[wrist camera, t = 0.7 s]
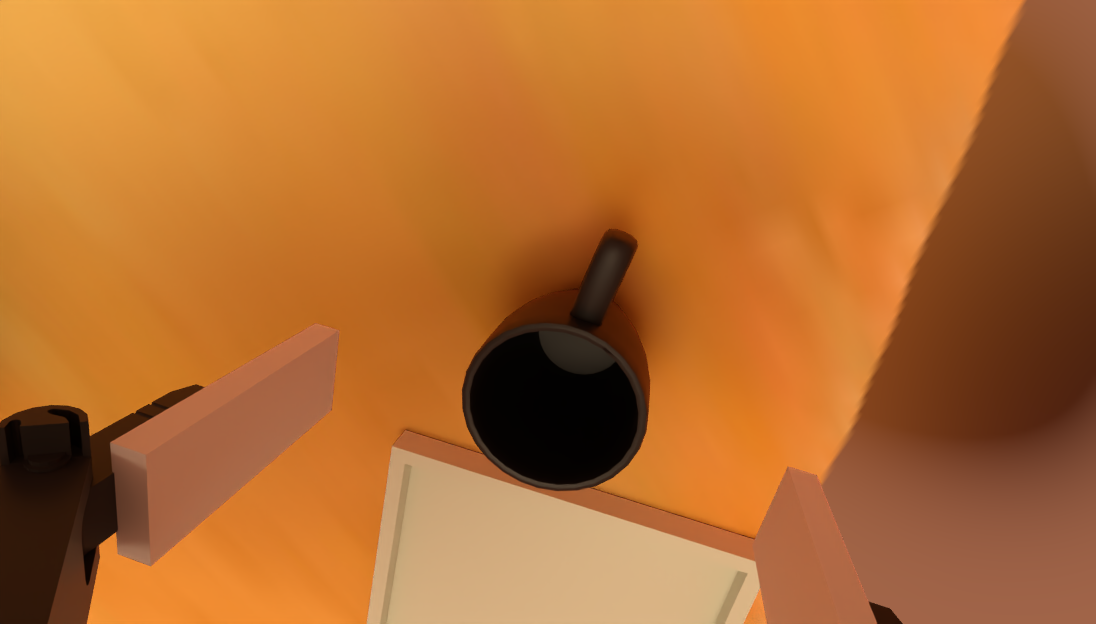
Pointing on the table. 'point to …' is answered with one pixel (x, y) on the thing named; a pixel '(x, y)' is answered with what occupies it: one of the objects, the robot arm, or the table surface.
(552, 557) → the tray
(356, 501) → the table surface
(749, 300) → the table surface
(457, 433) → the table surface
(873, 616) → the robot arm
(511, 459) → the mug
